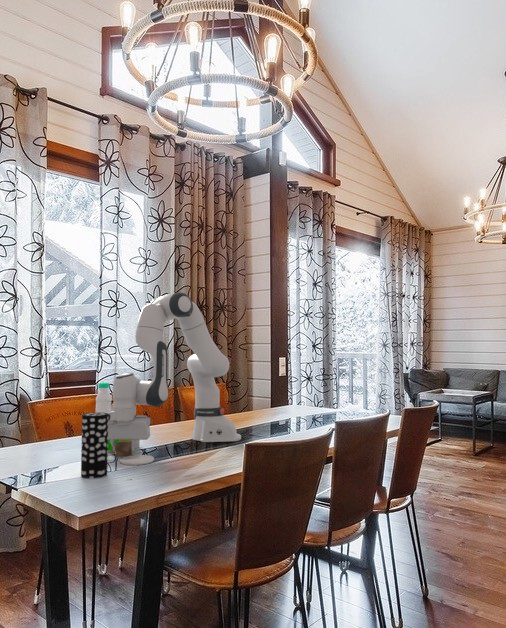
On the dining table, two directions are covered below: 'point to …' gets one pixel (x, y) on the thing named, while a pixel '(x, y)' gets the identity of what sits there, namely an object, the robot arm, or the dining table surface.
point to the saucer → (137, 460)
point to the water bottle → (103, 399)
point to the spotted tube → (94, 445)
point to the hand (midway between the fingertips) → (123, 451)
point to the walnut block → (123, 448)
